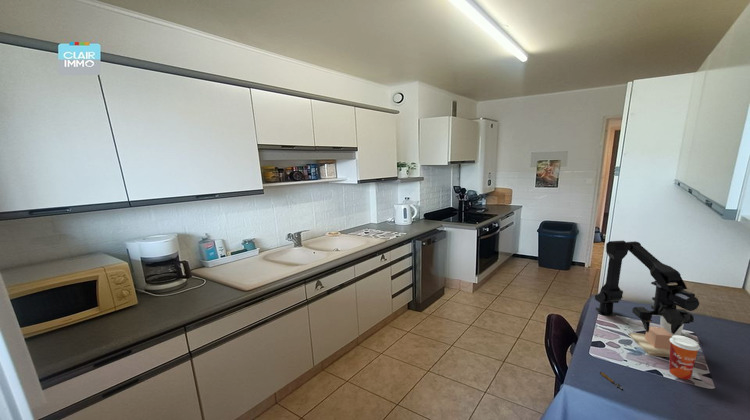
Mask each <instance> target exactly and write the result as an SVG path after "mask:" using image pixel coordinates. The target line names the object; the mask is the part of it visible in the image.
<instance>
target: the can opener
mask: <svg viewBox="0 0 750 420" xmlns="http://www.w3.org/2000/svg"><path fill="white" fill-rule="evenodd" d="M599 374H600V375H601V376H602V377H604V379H606V380H607V381H608V382H610V383H611V384H613V386H617V387H619V389H620V390H622V389H623V390H624V388H623V387H621V386H622V385H621V384H619V383H617V382H615V380H613V379H612V378H611V377H609V376H608V375H607V374H606V373H604V372H602V371H600V372H599Z"/></svg>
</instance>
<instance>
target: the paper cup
mask: <svg viewBox="0 0 750 420" xmlns="http://www.w3.org/2000/svg"><path fill="white" fill-rule="evenodd" d="M670 342H671V343H670V357H669V365H668V366H669V367H668V368H669V373H670V374H671V375H672V376H674V377H677V378H678V379H682V380H690V379H691V378H692V374H693V370H694V367H695V363H696V359H697V355H698V352H699V350H700V349H701V347H700V344H699V343H698V342H697V341H696V340H694V339H692V338H690V337H688V336H684V335H681V336H680V335H674V336H672V337H671V338H670Z"/></svg>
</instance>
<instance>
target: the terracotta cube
mask: <svg viewBox="0 0 750 420" xmlns="http://www.w3.org/2000/svg"><path fill="white" fill-rule="evenodd" d="M645 334H646V335H645V339H646V340H647V341H648V342H649V343H650V344H651V345H652V346H653V347H654V348H666V349H670V343H671V342H670V338H671V337H672V336H673V335H672V334H670V333H669V332H668V331H667V330H665V329H664V328H661V326H660V327H659V326H649V332H646V331H645Z"/></svg>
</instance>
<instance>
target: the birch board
mask: <svg viewBox="0 0 750 420" xmlns="http://www.w3.org/2000/svg"><path fill="white" fill-rule="evenodd" d="M645 335H646V333H638V332H637V333H636V332H629V333H628V336H629V337H630V338H631V339H632V340H633V341H634V343H636V344H637V345H638V346H639V347H640V348H641V349H642V350H643V351H644V352H645V353H646V354H647V355H648V356H650V357H651V356H652V357H663V358H664V357H666V358H670V349H666V348H654V347H653V346H652V345H651V344H650V343H649V342H648V341H647V340H646V339H645Z"/></svg>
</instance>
